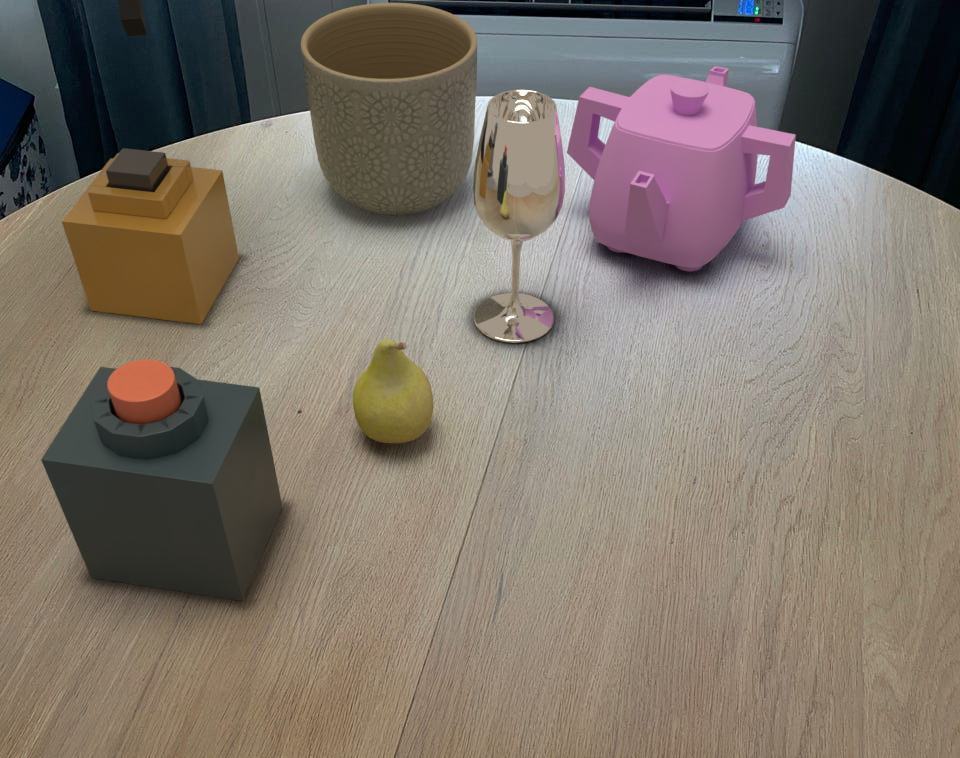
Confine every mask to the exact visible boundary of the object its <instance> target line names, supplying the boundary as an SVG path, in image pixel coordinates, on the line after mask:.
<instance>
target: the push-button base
mask: <svg viewBox="0 0 960 758" xmlns="http://www.w3.org/2000/svg"><path fill="white" fill-rule="evenodd" d="M119 153H120V152H117V153H116V154H115V156H114V157H113V158H111V157H110V158H109V160H108V161H107V162H106V163H105V165H104V166H103V167H102V169H101V170H100V171H99V173H98V174H97V175H96V176H95V178H94V179H93V180H92V181H91V183H90V184H89V185H88V187H87V188H86V190H85V191H84V192H83V193H82V194H81V196H80V197H79V198H78V200H77V201H76V202H75V203H74V205H73V206H72V207H71V209H69V211H68V212H67V214H66V215H65V217H63V219H62V220H61V224H62V227H63V229H64V233H65V236H66V239H67V242H68V245H69V248H70V252H71V255H72V257H73V260H74V263H75V266H76V269H77V272H78V276H79V279H80V281H81V285H82V288H83V291H84V294H85V297H86V300H87V303H88V306H89V309H90V311H92V312H100V313H107V314H116V315H122V316H131V317H140V318H146V319H156V320H163V321H171V322H178V323H179V322H180V323H187V324H195V325H203V322H204V321H205V319H206V317H207V316H208V314H209V312H210V310H211V308H212V307H213V305H214V303H215V302H216V300H217V298H218V297H219V295H220V292H221V291H222V289H223V288H224V286H225V284H226V282H227V281H228V279H229V277H230V276H231V274H232V272H233V270H234V268H235V267H236V265H237V263H238V261H239V260H240V255H239V251H238V245H237V240H236V235H235V229H234V224H233V219H232V215H231V208H230V203H229V197H228V193H227V188H226V182H225V177H224V171H223V170H222V169H214V168H205V167H195V166H192V165H191V161H190V160H188V159H178V158H168V157H166V158H167V162H168V167H169V172H168V173H167V175H166V176H165V178H164V179H163V181H162V182H161V183H160V185H159V186H158V188H157V189H156V191H155V192H147V191H138V190H129V189H120V188H111V187H110V185H109V181H108V177H107V174H106V170H107V168H108V167H109V166H110V165H111V163H112V162H113V161H114V159H115V158H116V157H117V156H118V154H119Z"/></svg>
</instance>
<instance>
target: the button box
mask: <svg viewBox="0 0 960 758" xmlns="http://www.w3.org/2000/svg"><path fill="white" fill-rule="evenodd" d="M169 367H170V368H171V369H172V370H173V372H174V374H175V378H176V382H177V385H178V389H179V393H180V397H181V402H180V406H179V408H178V410H177V411H176V412H175V413H173V414H172V415H170V416H168V417H167V418H165V419H164V420H162V421H157V422H152V423H147V424H143V425H141V424H134V423H127V422H125V421H123V420H122V419H121V418H119V417H118V415H117V414H116V412H115V409H114V406H113V403H112V400H111V397H110V394H109V391H108V388H107V382H108V379H109V377H110V375H111V374H112V373H113V372H114V371H115V370H116V369H117V368H114V367H106V366H100V367H99V368H98V370H97V371H96V373H95V375H94V376H93V377H92V379H91V381H90V382H89V383H88V385H87V387H86V389H84V391H83V393H82V395H81V396H80V398H79V399H78V401H77V403H76V404H75V406H73V409H72V410H71V412H70V413H69V415H68V417H67V418H66V419H65V421H64V423H63V424H62V426H61V428H60V429H59V431H58V432H57V433H56V435H55V436H54V438H53V440H52V442H51V443H50V445H49V446H48V448H47V449H46V450H45V452H44V454H43V456H42V457H41V459H40V460H41V463H42V465H43V467H44V470H45V473H46V475H47V477H48V480H49V482H50V484H51V487H52V489H53V492H54V494H55V496H56V499H57V501H58V504H59V506H60V508H61V510H62V512H63V515H64V517H65V520H66V522H67V524H68V527H69V529H70V531H71V534H72V536H73V539H74V541H75V543H76V546H77V549H78V551H79V553H80V556H81V558H82V560H83V562H84V565H85V567H86V570H87V572H88V574H89V576H90V578H91V579H97V580H104V581H110V582H116V583H122V584H130V585H137V586H143V587H148V588H156V589H162V590H168V591H169V590H170V591H175V592H182V593H188V594H195V595H201V596H208V597H215V598H220V599H221V598H222V599H226V600H227V599H228V600H233V601H240V602H243V601H244V600H245V597H246V595H247V592H248V590H249V587H250V585H251V582H252V580H253V578H254V576H255V574H256V571H257V568H258V566H259V564H260V561H261V559H262V557H263V555H264V552H265V549H266V547H267V545H268V543H269V540H270V539H271V538H270V537H271V536H272V533H273V530H274V528H275V526H276V523H277V521H278V518H279V517H280V514H281V511H282V510H283V503H282V502H283V501H282V498H281V492H280V488H279V482H278V476H277V472H276V466H275V461H274V456H273V451H272V446H271V440H270V435H269V430H268V425H267V420H266V415H265V410H264V404H263V399H262V394H261V388H260V386H251V385H243V384H236V383H229V382H220V381H213V380H206V379H199V378H196V377H195V376H193V375H192V374H190V373H189V372H187V371H186V370H184V369H182V368H180V367H175V366H169Z"/></svg>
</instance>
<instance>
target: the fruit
mask: <svg viewBox="0 0 960 758" xmlns="http://www.w3.org/2000/svg"><path fill="white" fill-rule="evenodd" d="M407 348H408V347H407V344H406V343H405V342H404V341H400V342H399V343H397V342H396V340H394V339H392V338H384V339H381V340H380V341H379V342H378V344H377V345H376V347H375V349H374V352H373V353H372V354H373V355H372V358H371V360H370V362H369V365H368V366H367V368H366V370H365V371H363V373H361V374H360V375H359V377H358V378H357V380H356V382H355V385H354V388H353V392H352V405H353V406H352V407H353V411H354V417H355V420H356V423H357V425H358V427H359V428H360V429H361V431H362V432H363V434H364V435H366V436H367V437H368V438H369V439H371V440H373V441H376V442H378V443H382V444H383V443H384V444H403V443H408V442H412V441H414V440H416V439H418V438H419V437H421V436H422V435H423V434H424V433H425V432H426V431H427V429H428V428H429V426H430V424H431V422H432V418H433V413H434V408H435V407H434V396H433V395H434V394H433V390H432V386H431V383H430V380H429V378H428V376H427V375H426V373H425V371H424V370H423V369H422V368H421V367H420V366H419V365H418V364H416V363H415V362H413V360H411V359H410V358H408V356H407V355H406V354H405V352H404V351H403V350H405V349H407Z"/></svg>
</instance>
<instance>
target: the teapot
mask: <svg viewBox="0 0 960 758" xmlns="http://www.w3.org/2000/svg"><path fill="white" fill-rule="evenodd" d="M729 71H730V68H727V67H723V66H718V65H714V66H713V67H711V69H709V72H708V75H707V78H706V80H705V81H702V80H698V79H693V78H687V77H682V76H679V75H670V74H659V75H656V76H654V77H652V78H650V79H649V80H647V81H646V82H645V83H643V84H642V85H641V86H639V88H638V89H636V90H635V91H634V93H633V94H631V95H630V96H626V95H623V94H619V93H616V92H611V91H607V90H604V89H600V88H596V87H593V86H589V87H587V89H585V91H584V92H583V93H582V94H580V96H579V97H578V101H577V105H576V106H577V107H576V110H575V114H574V118H573V123H572V127H571V131H570V136H569V140H568V145H567V149H566V154H567V155H568V156H569V157H570V158H571V159H572V160H573V161H574V162H575V163H576V164H577V165H578V166H579V167H580V168H581V169H582V170H583V171H584V172H585V173H586V174H587V175H588V176H589V177H590V178H591V179H592V180H593V184H592V189H591V193H590V198H589V206H588V218H589V225H590V228H591V231H592V233H593V236H594V238H595V241H596V242H598V244H599V243H600V244H601V245H604V246H606V247H607V249H608V250H610V251H612V252H614V253H623V254H624V253H627V254H631V255H634V256H637V257H641V258H644V259H648V260H653V261H657V262H661V263H664V264H669V265H673V266H675V268H677V269H679V270H681V271H684V272H695V271H700V270H701V269H702V268H703V266H705V265H706V264H708V263H710V262H711V261H712V260H713V259H715V257H717V256H718V255H719V253H721V251H722V250H723V249H725V247H726V246H727V245H728V244H729V243H730V241H732V239H733V237H734V236H735V235H736V233H737V232H738V230H739V229H740V227H741V226H742V224H743V222H744V221H748V220H751V219H753V218H757V217H760V216H762V215H766V214H769V213H772V212H775V211H777V210H782V209H784V208H785V207H786V205H787V204H788V201H789V199H790V198H791V196H792V195H791V194H792V184H793V172H794V160H795V151H796V150H795V149H796V138H797V134H795V133H790V132H789V133H788V132H785V131H780V130H775V129H770V128H765V127H760V126H758V121H757V109H756V108H757V107H756V101H755V98H754V97H753V96H752V94H751V93H749V92H746V91H742V90H740V89H735V88H731V87H728V80H729V79H728V77H729ZM602 118H604V119H607V120H609V121H611V122H614V123H613V125H612V127H611V130H610V131H609V134H608V137H607V140H606V143H604V142H603V141H602V139H600V138H599V133H600V126H601V125H600V124H601V119H602ZM758 156H769V160H768V165H767V171H766V172H767V173H766V177H765V181H762V182H757V183H756V177H757V167H758Z"/></svg>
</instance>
